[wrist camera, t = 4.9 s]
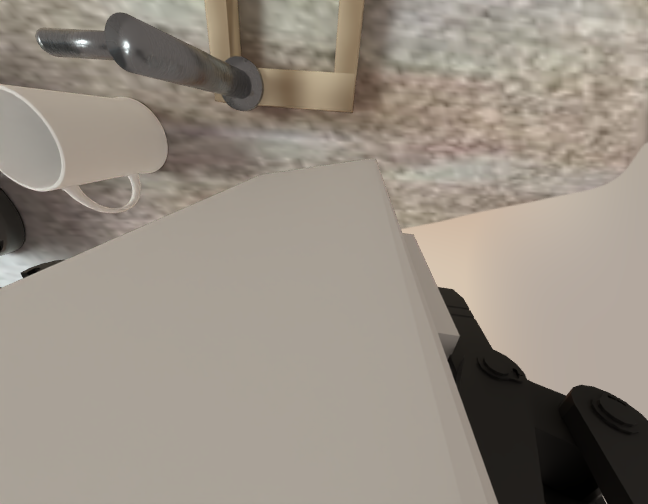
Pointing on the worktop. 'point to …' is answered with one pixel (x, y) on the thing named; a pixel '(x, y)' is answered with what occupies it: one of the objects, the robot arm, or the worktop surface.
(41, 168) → the mug
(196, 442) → the milk carton
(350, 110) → the tan flat frame
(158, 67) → the metal door lever handle
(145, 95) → the worktop surface
